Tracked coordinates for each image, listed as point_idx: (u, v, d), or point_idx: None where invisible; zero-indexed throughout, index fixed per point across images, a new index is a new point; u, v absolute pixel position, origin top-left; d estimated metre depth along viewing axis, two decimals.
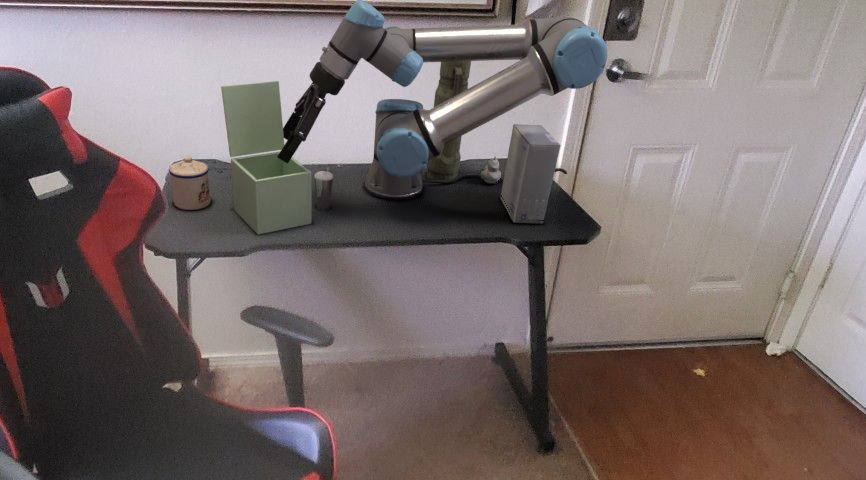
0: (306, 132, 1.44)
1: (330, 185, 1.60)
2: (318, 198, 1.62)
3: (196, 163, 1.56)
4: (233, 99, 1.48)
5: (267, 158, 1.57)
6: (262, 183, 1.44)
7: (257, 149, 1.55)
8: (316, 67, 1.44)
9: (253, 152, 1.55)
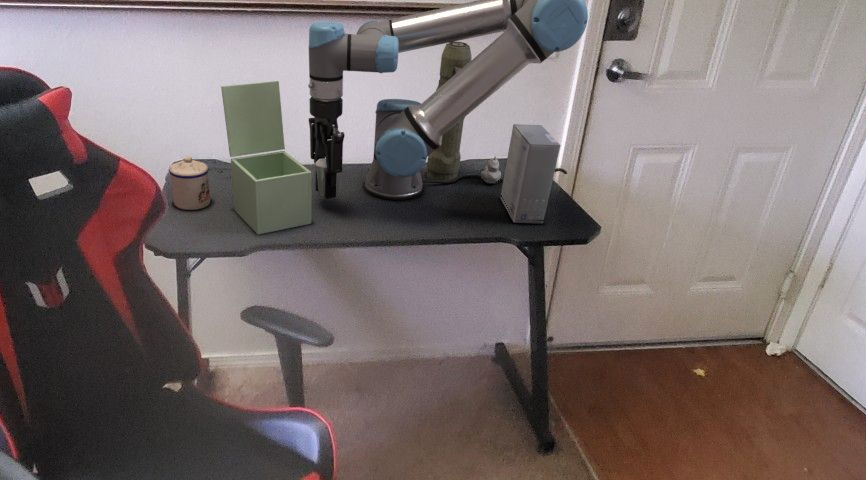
0: (340, 165, 1.54)
1: None
2: (320, 186, 1.60)
3: (196, 163, 1.56)
4: (233, 99, 1.48)
5: (267, 158, 1.57)
6: (262, 183, 1.44)
7: (257, 149, 1.55)
8: (315, 105, 1.48)
9: (253, 152, 1.55)
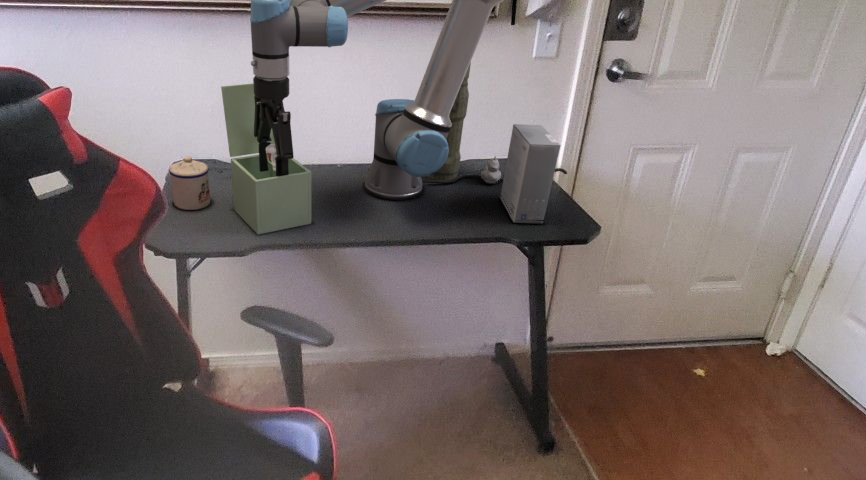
0: (290, 150, 1.41)
1: None
2: (270, 174, 1.47)
3: (196, 163, 1.56)
4: (233, 99, 1.48)
5: None
6: (262, 183, 1.44)
7: (257, 149, 1.55)
8: (258, 84, 1.37)
9: (253, 152, 1.55)
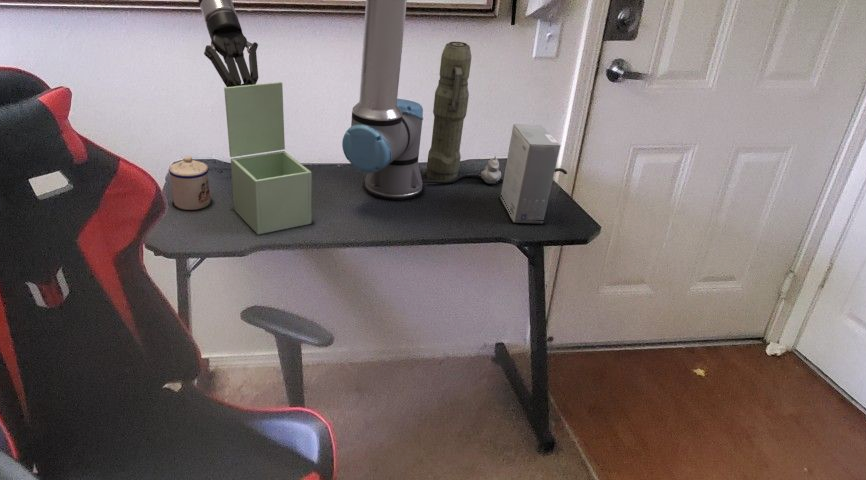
0: (224, 76, 1.51)
1: None
2: None
3: (196, 163, 1.56)
4: (236, 100, 1.47)
5: (267, 158, 1.57)
6: (262, 183, 1.44)
7: (257, 149, 1.55)
8: None
9: (253, 152, 1.55)
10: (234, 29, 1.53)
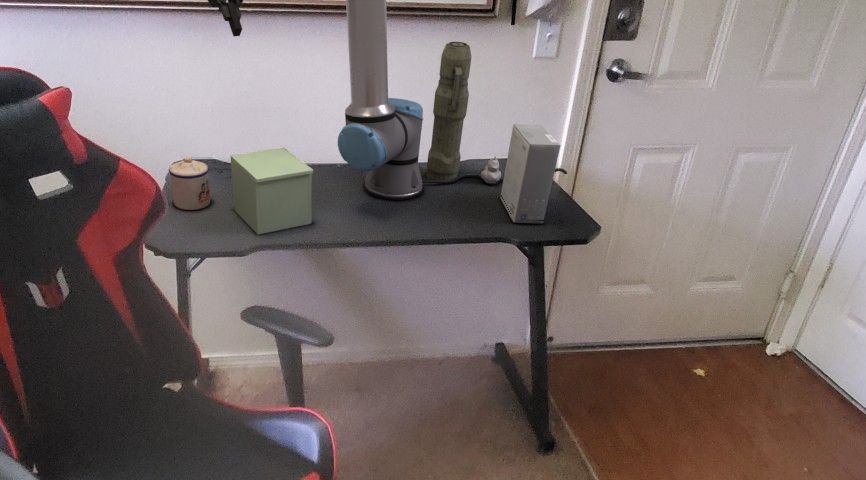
0: None
1: None
2: None
3: (196, 163, 1.56)
4: None
5: None
6: (262, 183, 1.44)
7: None
8: None
9: None
10: None
